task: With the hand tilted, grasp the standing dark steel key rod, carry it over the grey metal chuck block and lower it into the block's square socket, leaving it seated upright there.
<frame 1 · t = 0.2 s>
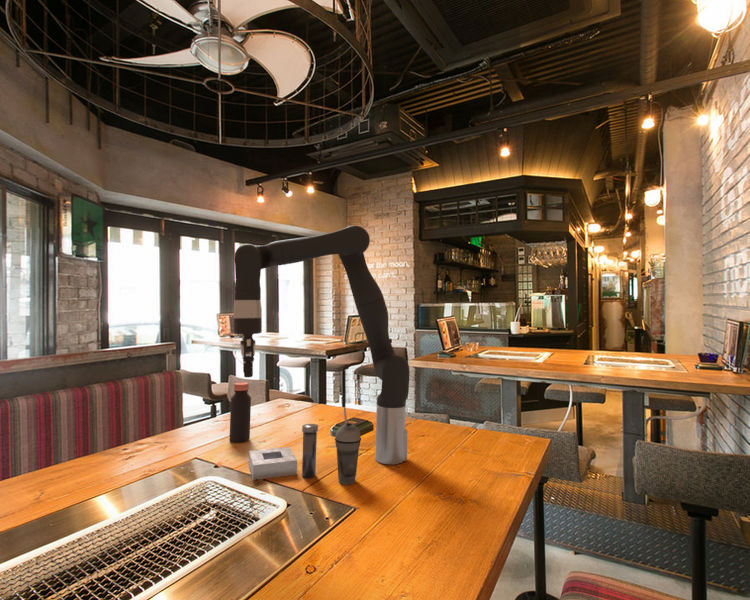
hand: (247, 374, 112), 28 cm above the table, tool pointing down, fingers open, 8 cm apart
beverage cup: (346, 482, 111), on the table
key: (308, 475, 114), on the table
bottle: (239, 440, 143), on the table
chuck block: (272, 469, 118), on the table
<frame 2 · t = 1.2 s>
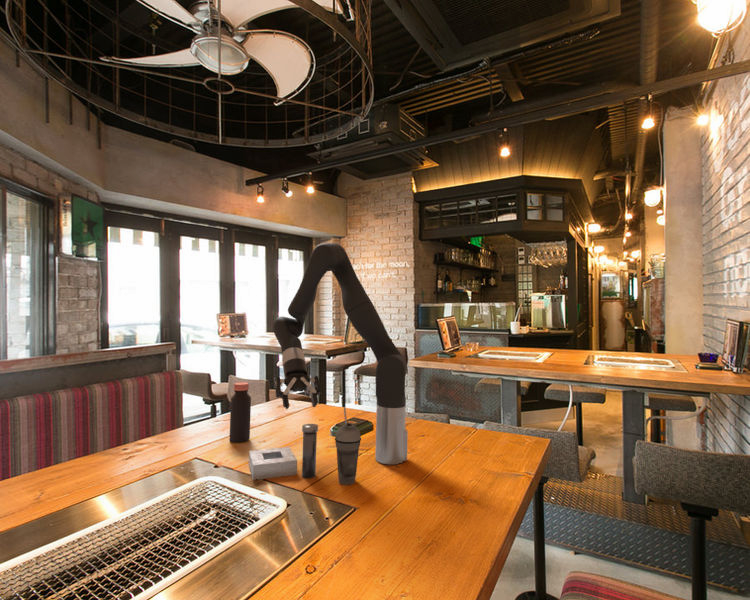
hand: (301, 406, 124), 17 cm above the table, tool tilted 45°, fingers open, 8 cm apart
nothing on the table moved.
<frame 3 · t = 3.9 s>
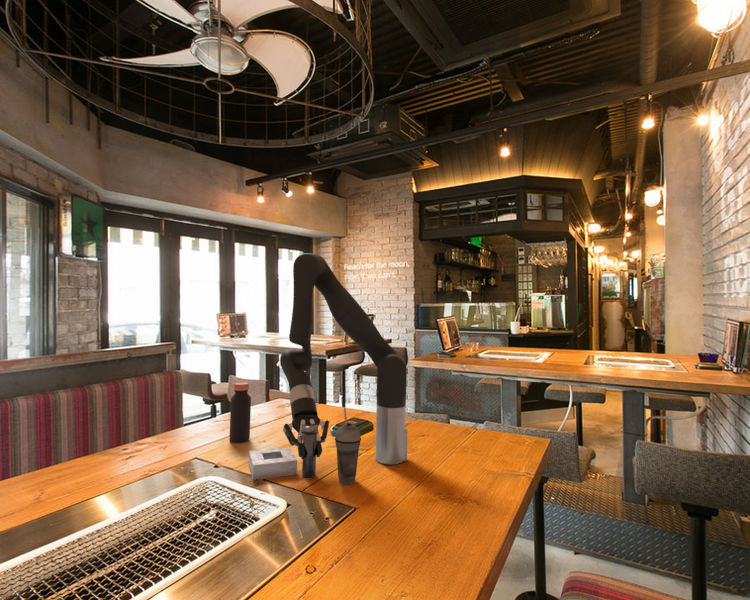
hand: (311, 456, 112), 6 cm above the table, tool tilted 45°, fingers closed on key, 3 cm apart
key: (308, 475, 114), on the table, touching gripper
everything else where it was.
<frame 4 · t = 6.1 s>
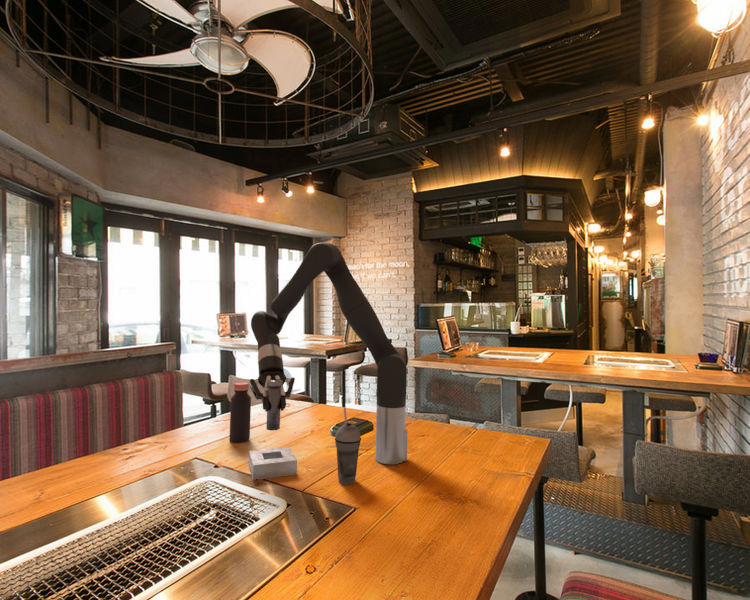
hand: (275, 409, 116), 18 cm above the table, tool tilted 45°, fingers closed on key, 3 cm apart
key: (273, 428, 118), point 12 cm above the table, touching gripper
everything else where it was.
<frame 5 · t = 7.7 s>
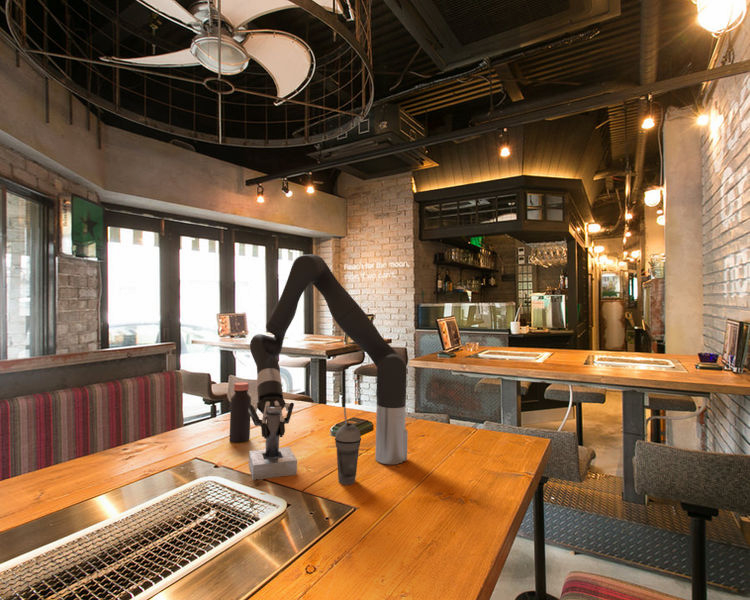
hand: (273, 436, 116), 10 cm above the table, tool tilted 45°, fingers closed on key, 3 cm apart
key: (272, 455, 118), point 4 cm above the table, touching gripper
everything else where it was.
when the fingers open (8 cm above the table, at t = 8.6 s): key drops 2 cm, resting in chuck block.
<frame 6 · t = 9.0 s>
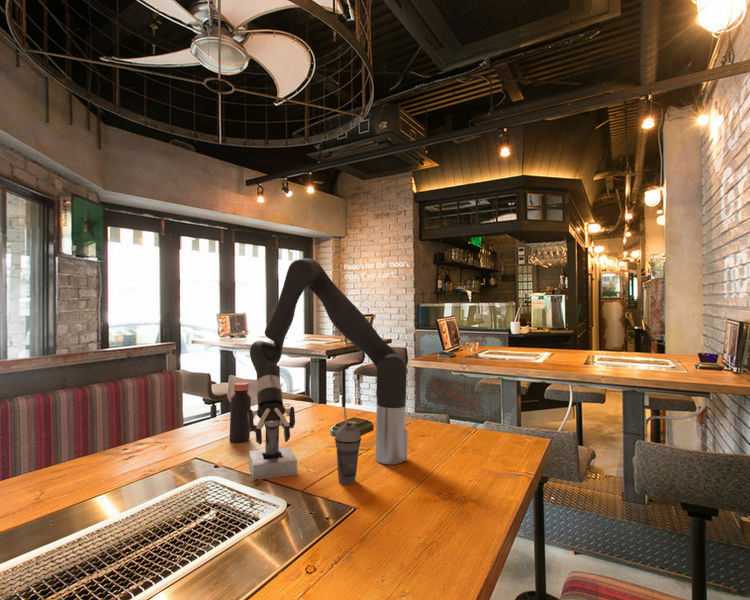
hand: (273, 441, 117), 8 cm above the table, tool tilted 45°, fingers open, 7 cm apart
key: (271, 469, 118), resting in chuck block
everything else where it was.
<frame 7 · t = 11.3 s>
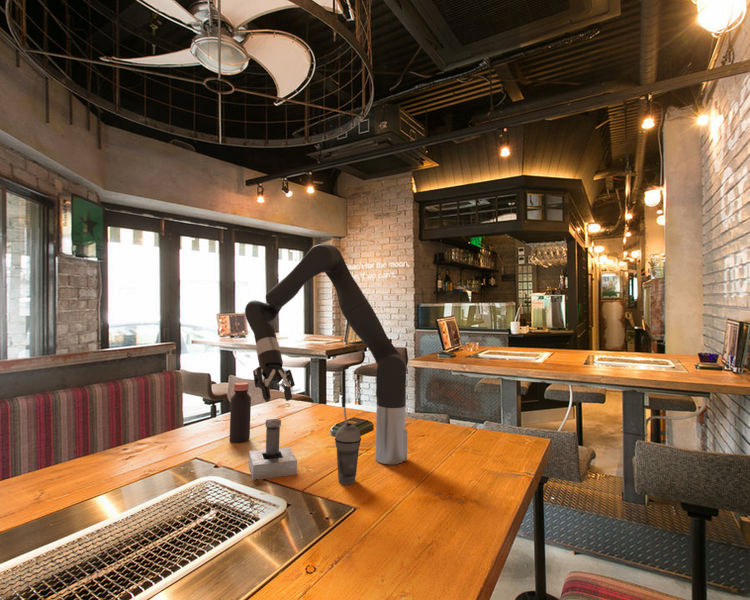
hand: (278, 399, 128), 18 cm above the table, tool tilted 35°, fingers open, 8 cm apart
nothing on the table moved.
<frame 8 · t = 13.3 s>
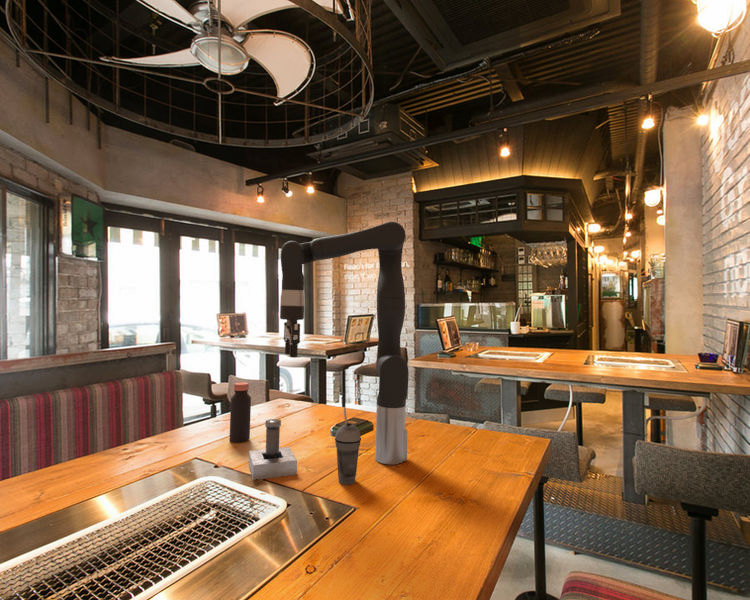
hand: (290, 355, 128), 32 cm above the table, tool pointing down, fingers open, 8 cm apart
nothing on the table moved.
at the end: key 0.1 cm off-centre on the chuck block, point 0.0 cm above the chuck block's base; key tilted 0°; the gripper is holding nothing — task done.
